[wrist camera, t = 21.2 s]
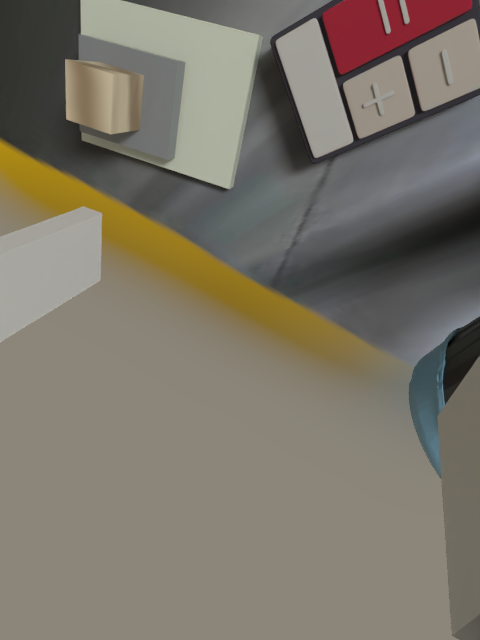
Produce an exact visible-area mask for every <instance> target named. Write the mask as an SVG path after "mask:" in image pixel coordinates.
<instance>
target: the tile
mask: <svg viewBox="0 0 480 640" xmlns="http://www.w3.org/2000/svg"><path fill="white" fill-rule="evenodd" d="M79 61H92V62H102V63H105V64H108V65H111V66H115V67H118V68H121V69H125V70H128V71H131V72H135V73H138V74H141V75H144V82H143V95H142V107H141V120H140V130H136V131H129V132H123V133H117V134H108V133H105V132H102V131H99V130H96V129H93V128H90V127H87V126H84V125H81V124H79V126H80V132H83V133H86V134H89V135H92V136H95V137H99V138H102V139H105V140H108V141H111V142H114V143H117V144H120V145H123V146H126V147H129V148H132V149H135V150H138V151H141V152H144V153H147V154H151V155H154V156H157V157H160V158H163V159H166V160H169V159H172V158H175V150H176V141H177V132H178V124H179V115H180V106H181V97H182V89H183V80H184V71H185V63H186V62H184V61H181V60H177V59H173V58H170V57H166V56H162V55H159V54H155V53H151V52H148V51H144V50H140V49H137V48H133V47H129V46H126V45H122V44H118V43H115V42H111V41H107V40H104V39H100V38H96V37H93V36H89V35H83V34H79Z"/></svg>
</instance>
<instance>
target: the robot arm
mask: <svg viewBox="0 0 480 640" xmlns="http://www.w3.org/2000/svg"><path fill="white" fill-rule="evenodd" d="M101 237H102V213H100V212H97V211H94V210H92V209H88V208H86V207H81V208H79V209H76V210H73V211H71V212H68V213H65V214H62V215H59V216H56V217H54V218H51V219H48V220H46V221H43V222H40V223H37V224H34V225H31V226H29V227H26V228H23V229H21V230H18V231H15V232H12V233H9V234H7V235H4V236H1V237H0V342H1V341H3V340H4V339H6V338H8V337H9V336H11V335H13V334H14V333H16V332H17V331H19V330H21V329H22V328H24V327H25V326H27V325H29V324H30V323H32V322H34V321H35V320H37V319H39V318H40V317H42V316H43V315H45V314H47V313H48V312H50V311H51V310H53V309H55V308H56V307H58V306H60V305H61V304H63V303H64V302H66V301H68V300H69V299H71V298H73V297H74V296H76V295H78V294H79V293H81V292H82V291H84V290H86V289H87V288H89V287H91V286H92V285H94V284H96V283H97V282H98V281H100V280H101ZM409 403H410V410H411V415H412V419H413V423H414V426H415V429H416V432H417V435H418V437H419V440H420V443H421V445H422V447H423V449H424V451H425V453H426V455H427V457H428V459H429V461H430V463H431V465H432V466H433V468H434V469H435V471H436V472H437V474H438V475H439V477H440V478H441V480H442V495H443V509H444V524H445V539H446V554H447V569H448V584H449V599H450V614H451V629H452V636H454V637H456V638H458V639H460V640H480V316H479V317H478V318H476V319H475V320H473V321H472V322H470V323H469V324H467V325H466V326H464V327H461V328H458V329H456V330H454V331H453V332H452V333H450V334H449V336H448V337H447V338H446V339H445V341H444V342H443V343H441V344H440V345H439V346H437V347H436V348H435V349H433V350H432V351H431V352H429V353H428V354H427V355H425V356H424V357H423V358H422V359H421V360H420V361H419V362H418V363H417V365H416V366H415V368H414V370H413V374H412V379H411V382H410V385H409Z"/></svg>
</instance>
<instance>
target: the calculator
mask: <svg viewBox="0 0 480 640" xmlns="http://www.w3.org/2000/svg"><path fill="white" fill-rule="evenodd" d="M270 43H271V47H272V50H273V53H274V56H275V59H276V62H277V65H278V68H279V70H280V73H281V76H282V79H283V82H284V85H285V88H286V91H287V94H288V97H289V100H290V103H291V105H292V108H293V111H294V114H295V117H296V120H297V123H298V126H299V129H300V132H301V135H302V138H303V141H304V143H305V146H306V149H307V152H308V155H309V158H310V161H311V162H312V163H313V164H316V163H319V162H321V161H324V160H326V159H329V158H331V157H333V156H336V155H338V154H340V153H343V152H345V151H348V150H350V149H352V148H355V147H357V146H360V145H362V144H364V143H367V142H369V141H371V140H374V139H376V138H379V137H381V136H383V135H386V134H388V133H390V132H393V131H395V130H398V129H400V128H402V127H405V126H407V125H409V124H412V123H414V122H417V121H419V120H421V119H424V118H426V117H428V116H431V115H433V114H436V113H438V112H440V111H443V110H445V109H447V108H450V107H452V106H455V105H457V104H459V103H462V102H464V101H466V100H469V99H471V98H474V97H476V96H478V95H480V5H479V0H333V1H331V2H329V3H328V4H326V5H324V6H323V7H321V8H319V9H318V10H316V11H314V12H313V13H311V14H309V15H308V16H306V17H304V18H303V19H301V20H299V21H298V22H296V23H294V24H293V25H291V26H289V27H287V28H286V29H284V30H282V31H281V32H279V33H277V34H276V35H274V36H273V37H272V38H271V41H270Z"/></svg>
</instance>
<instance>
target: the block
mask: <svg viewBox="0 0 480 640" xmlns="http://www.w3.org/2000/svg"><path fill="white" fill-rule="evenodd" d="M65 70H66V119H67V120H69V121H72V122H75V123H78V124H81V125H84V126H87V127H90V128H93V129H96V130H99V131H102V132H105V133H108V134H117V133H123V132H129V131H136V130H140V120H141V107H142V95H143V82H144V75H141V74H138V73H135V72H131V71H128V70H125V69H121V68H118V67H115V66H111V65H108V64H105V63H102V62H92V61H79V60H67V59H65Z"/></svg>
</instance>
